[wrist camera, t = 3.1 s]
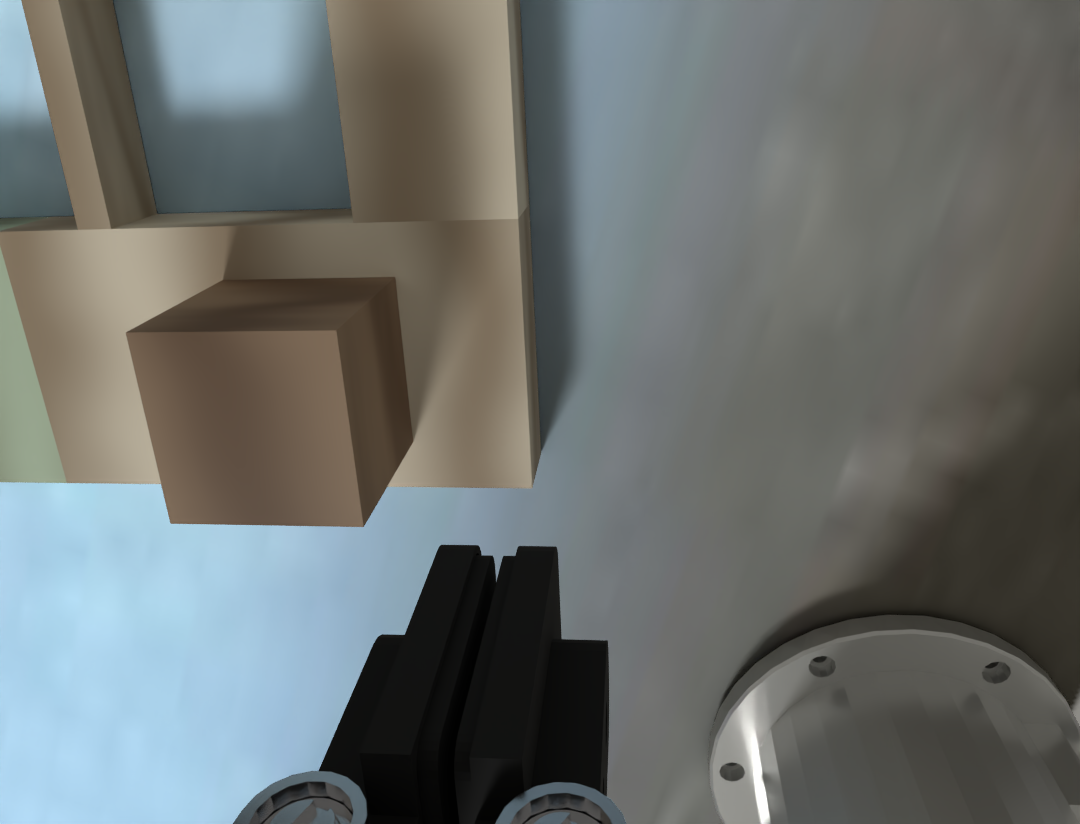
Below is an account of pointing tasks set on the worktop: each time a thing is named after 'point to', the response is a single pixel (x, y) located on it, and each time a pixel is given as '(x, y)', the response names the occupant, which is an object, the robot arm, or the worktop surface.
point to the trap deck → (287, 244)
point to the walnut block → (276, 400)
